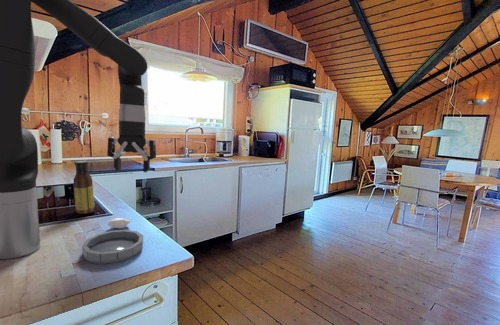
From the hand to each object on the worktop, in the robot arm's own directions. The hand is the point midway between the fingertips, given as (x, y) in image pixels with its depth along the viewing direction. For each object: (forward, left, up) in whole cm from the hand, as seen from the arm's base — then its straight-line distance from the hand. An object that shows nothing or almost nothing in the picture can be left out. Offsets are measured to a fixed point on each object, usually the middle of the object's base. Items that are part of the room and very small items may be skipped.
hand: (132, 171), depth 83 cm
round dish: (-3, -14, -20) cm, 24 cm away
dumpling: (-4, +2, -20) cm, 21 cm away
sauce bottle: (-19, +21, -20) cm, 35 cm away
